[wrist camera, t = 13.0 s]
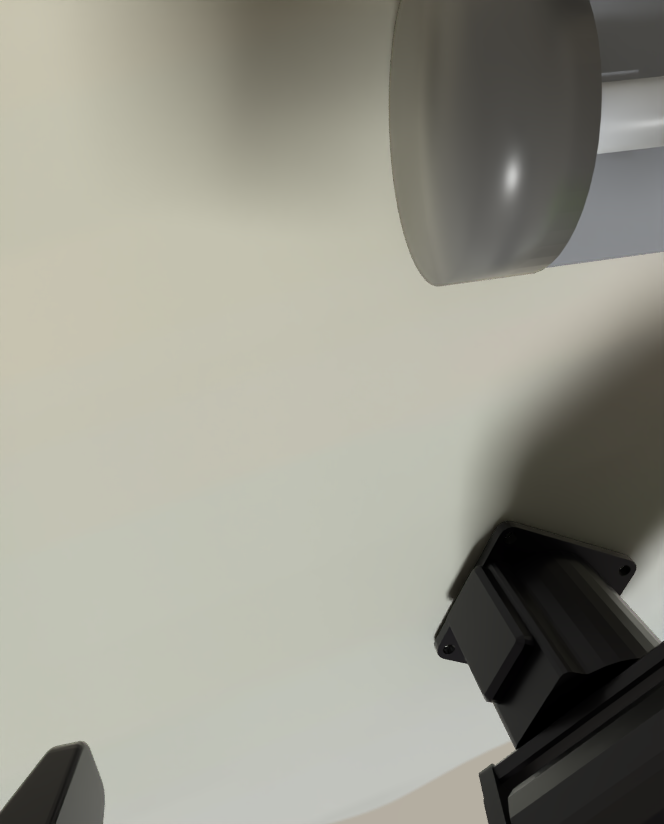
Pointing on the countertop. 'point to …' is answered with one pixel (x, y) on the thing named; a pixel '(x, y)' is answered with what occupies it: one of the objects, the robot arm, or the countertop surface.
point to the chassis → (527, 133)
